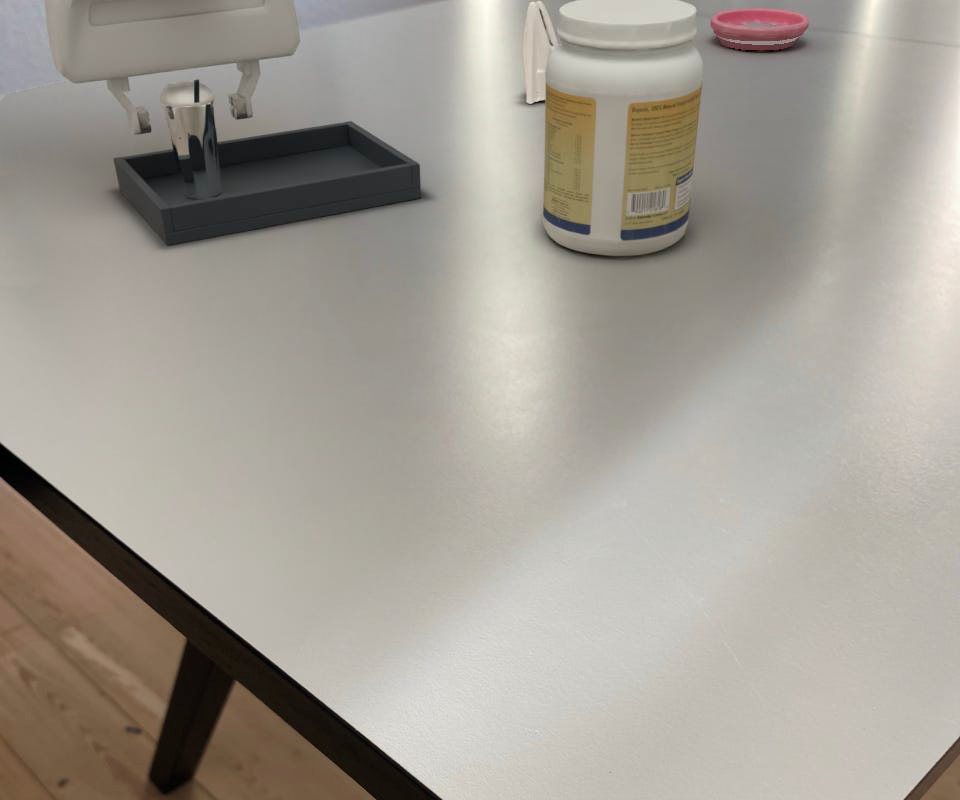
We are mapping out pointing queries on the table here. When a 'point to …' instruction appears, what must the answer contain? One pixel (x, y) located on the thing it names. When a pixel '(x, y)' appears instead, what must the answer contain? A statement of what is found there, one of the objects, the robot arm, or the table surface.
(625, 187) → the supplement tub
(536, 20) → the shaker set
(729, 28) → the saucer
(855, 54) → the table surface
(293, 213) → the tray
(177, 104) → the milkshake
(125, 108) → the robot arm
